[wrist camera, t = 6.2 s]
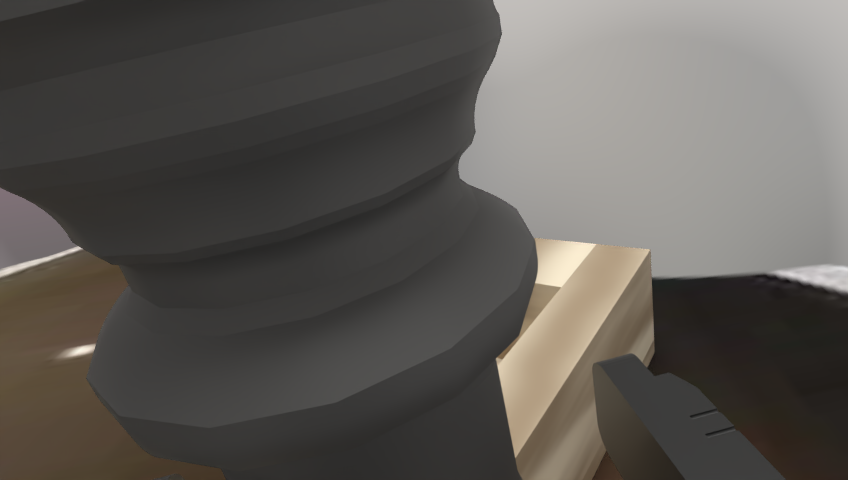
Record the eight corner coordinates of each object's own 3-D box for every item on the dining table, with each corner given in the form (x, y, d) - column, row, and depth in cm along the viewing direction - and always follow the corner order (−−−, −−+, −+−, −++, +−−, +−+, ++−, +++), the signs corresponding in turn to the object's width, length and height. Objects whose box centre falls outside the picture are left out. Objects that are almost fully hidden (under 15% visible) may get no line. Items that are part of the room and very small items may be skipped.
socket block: (281, 490, 28) (234, 388, 25) (462, 311, 40) (444, 229, 37) (513, 639, 19) (482, 509, 16) (654, 352, 31) (650, 249, 29)
